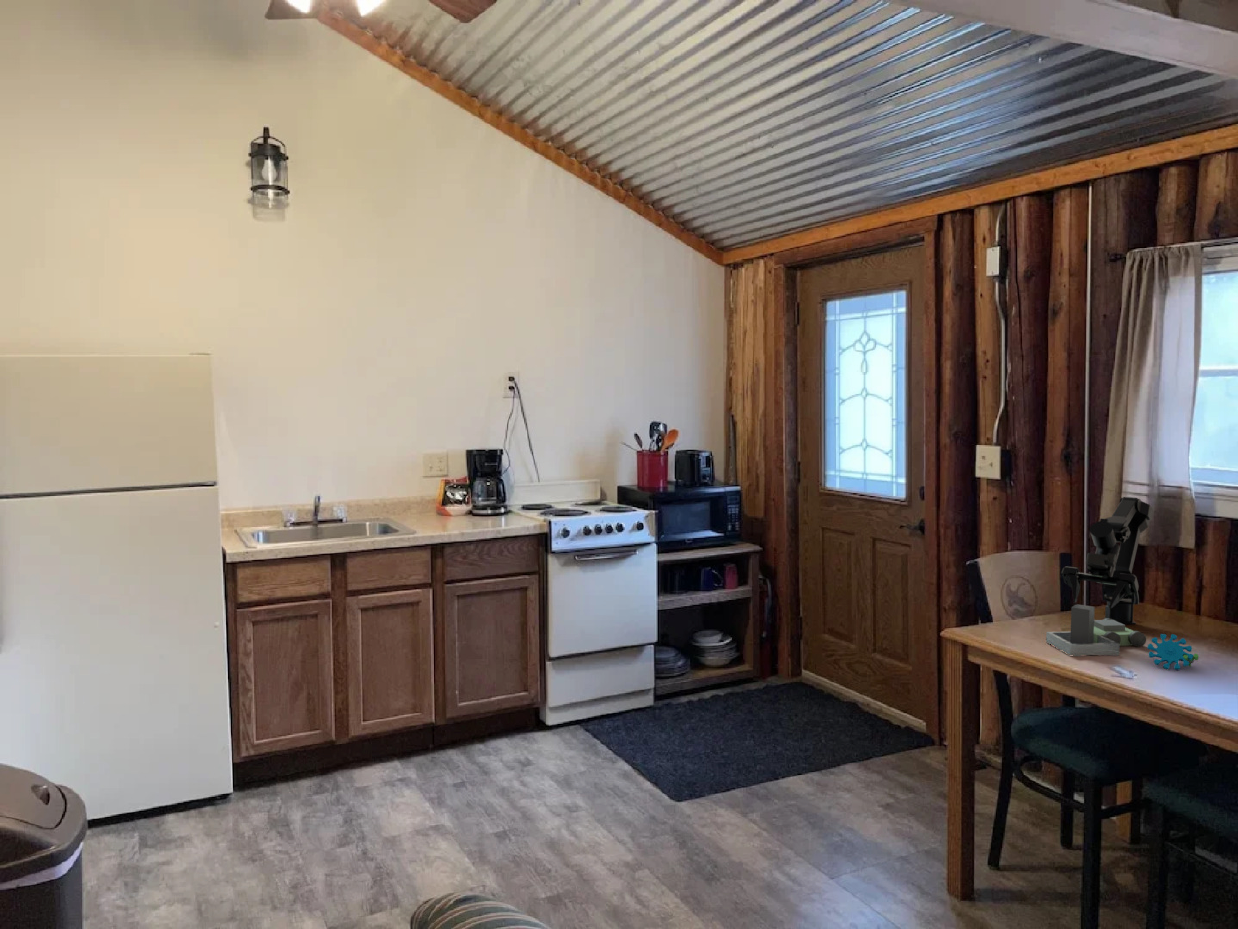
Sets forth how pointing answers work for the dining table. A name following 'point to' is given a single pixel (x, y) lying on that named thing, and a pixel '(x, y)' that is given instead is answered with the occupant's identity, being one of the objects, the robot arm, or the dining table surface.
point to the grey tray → (1082, 645)
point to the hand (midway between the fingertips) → (1092, 604)
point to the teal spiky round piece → (1171, 652)
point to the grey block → (1082, 624)
